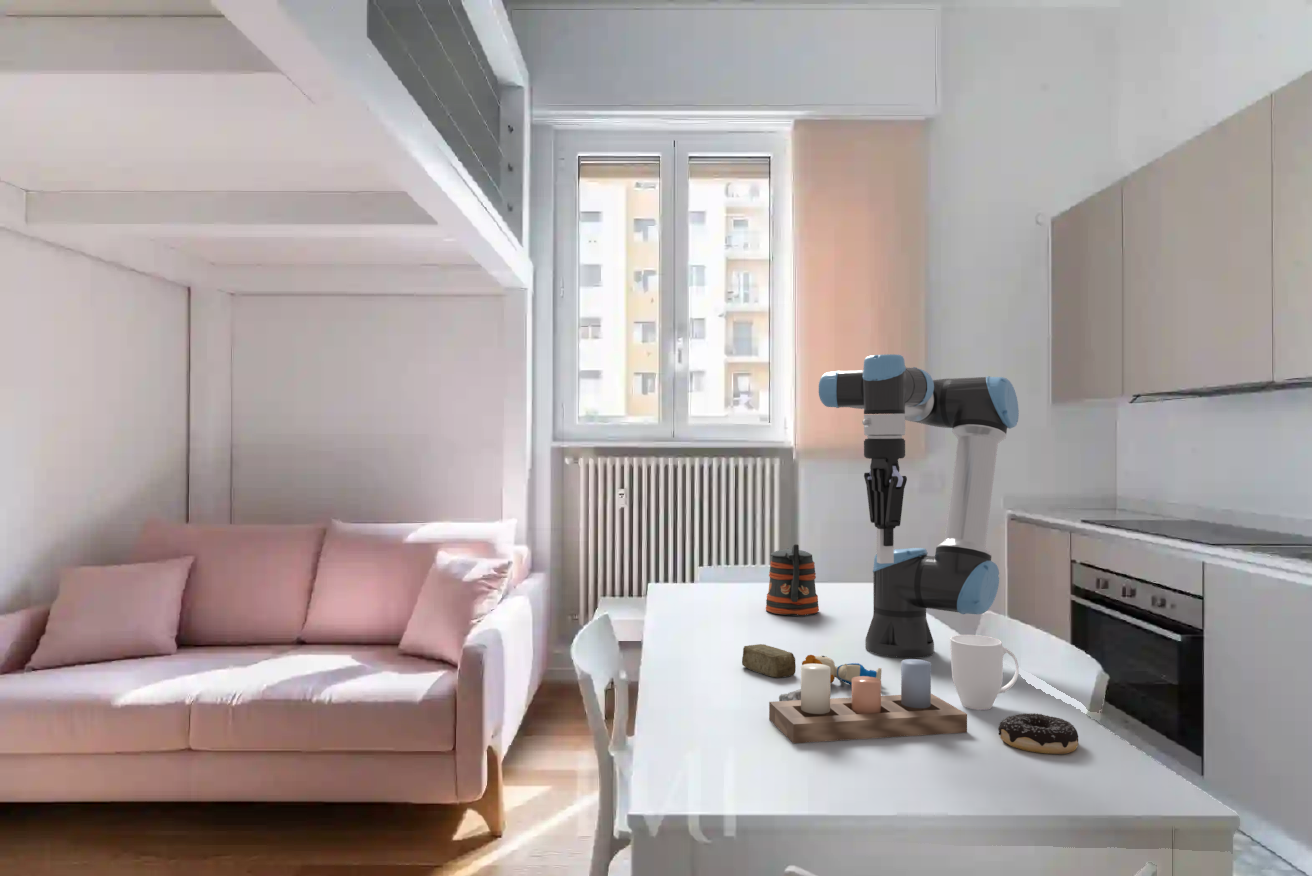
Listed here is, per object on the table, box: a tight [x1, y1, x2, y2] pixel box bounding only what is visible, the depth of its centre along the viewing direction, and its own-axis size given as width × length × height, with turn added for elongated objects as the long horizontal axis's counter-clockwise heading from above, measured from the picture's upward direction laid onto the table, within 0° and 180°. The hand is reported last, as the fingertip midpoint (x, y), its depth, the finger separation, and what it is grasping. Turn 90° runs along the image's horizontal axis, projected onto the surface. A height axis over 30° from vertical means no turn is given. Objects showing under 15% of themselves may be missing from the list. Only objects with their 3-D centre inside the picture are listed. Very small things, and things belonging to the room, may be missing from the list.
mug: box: [949, 634, 1020, 711], centre depth 159 cm, size 12×9×12 cm
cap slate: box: [900, 658, 932, 708], centre depth 149 cm, size 5×5×7 cm
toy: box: [801, 654, 883, 686], centre depth 171 cm, size 12×6×15 cm
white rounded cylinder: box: [800, 664, 831, 714], centre depth 145 cm, size 5×5×7 cm
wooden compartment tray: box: [768, 693, 968, 744], centre depth 147 cm, size 30×12×3 cm, turn 101°
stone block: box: [741, 643, 797, 679], centre depth 181 cm, size 6×12×5 cm, turn 34°
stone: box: [778, 688, 801, 701], centre depth 157 cm, size 6×12×4 cm, turn 144°
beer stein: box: [765, 543, 820, 617], centre depth 242 cm, size 19×15×20 cm
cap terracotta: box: [851, 676, 882, 714], centre depth 147 cm, size 5×5×7 cm
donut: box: [997, 713, 1079, 755], centre depth 139 cm, size 11×12×4 cm
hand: (885, 562), depth 165 cm, fingers closed
